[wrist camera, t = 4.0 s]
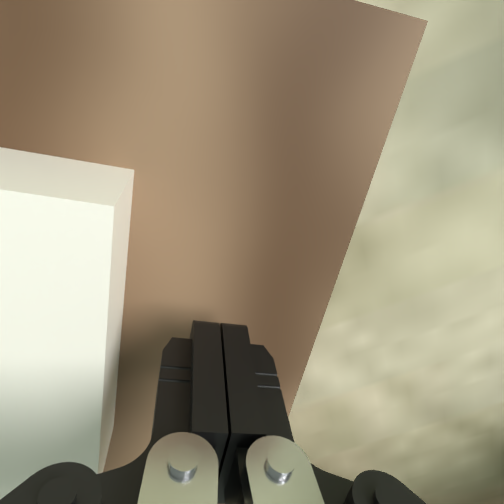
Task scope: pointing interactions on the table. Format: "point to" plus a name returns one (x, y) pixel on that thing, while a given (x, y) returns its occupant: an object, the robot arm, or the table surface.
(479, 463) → the table surface
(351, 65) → the brown wooden board
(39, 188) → the tile
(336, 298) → the table surface
